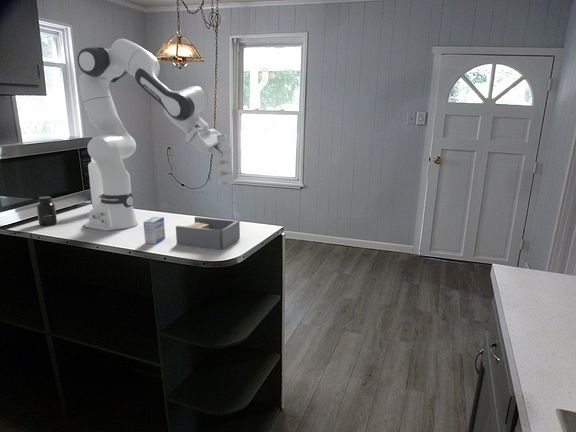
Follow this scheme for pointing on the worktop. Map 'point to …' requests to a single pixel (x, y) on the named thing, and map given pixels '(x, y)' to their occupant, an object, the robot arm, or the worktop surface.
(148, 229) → the medicine box
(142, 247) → the worktop surface
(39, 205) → the supplement bottle
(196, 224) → the upper offcut
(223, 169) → the plastic bottle
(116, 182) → the robot arm
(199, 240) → the open box
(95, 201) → the bottle
